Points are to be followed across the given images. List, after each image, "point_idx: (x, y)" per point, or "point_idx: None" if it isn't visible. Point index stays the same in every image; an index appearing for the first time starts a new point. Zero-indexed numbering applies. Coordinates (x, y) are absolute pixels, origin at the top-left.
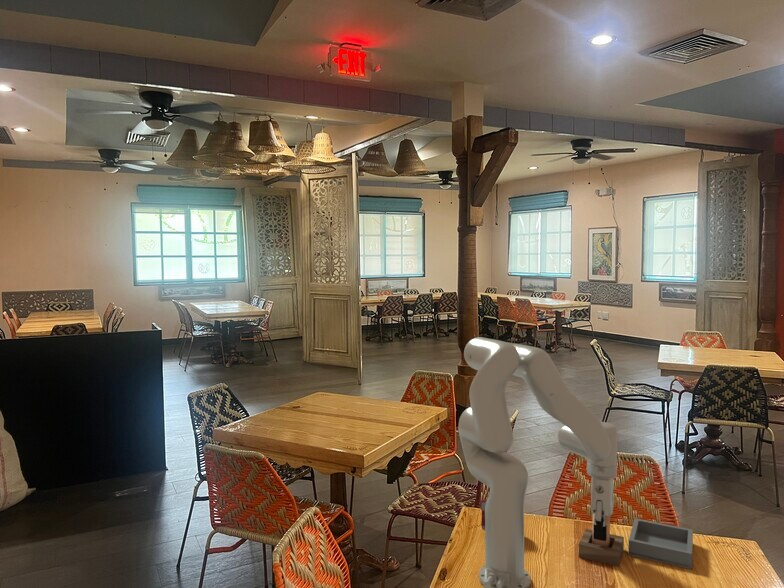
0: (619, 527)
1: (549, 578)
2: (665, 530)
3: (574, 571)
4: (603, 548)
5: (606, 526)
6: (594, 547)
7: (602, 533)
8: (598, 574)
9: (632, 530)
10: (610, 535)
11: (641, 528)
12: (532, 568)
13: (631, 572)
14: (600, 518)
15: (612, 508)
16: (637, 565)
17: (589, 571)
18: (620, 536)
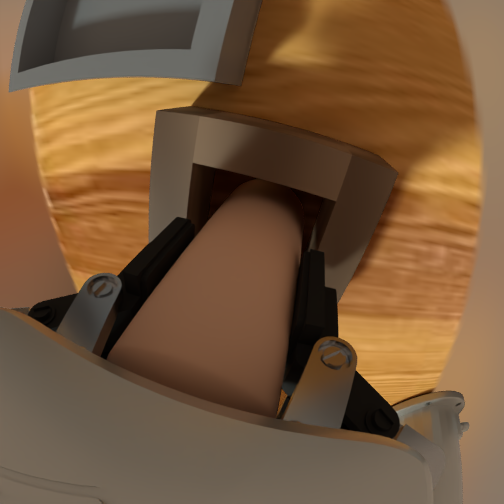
0: (43, 135)
1: (433, 367)
2: None
3: (413, 320)
4: (348, 249)
5: (321, 326)
6: (340, 289)
7: (335, 310)
8: (439, 253)
9: (87, 72)
10: (166, 185)
11: (43, 59)
12: (385, 391)
13: (418, 110)
14: (440, 471)
15: (142, 431)
16: (344, 60)
17: (418, 280)
18: (157, 129)
